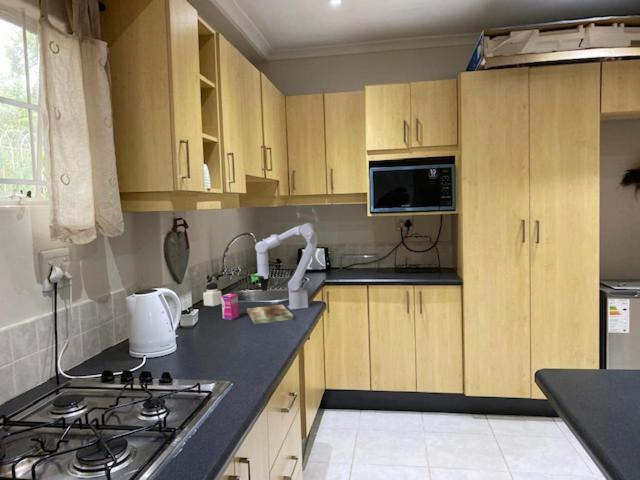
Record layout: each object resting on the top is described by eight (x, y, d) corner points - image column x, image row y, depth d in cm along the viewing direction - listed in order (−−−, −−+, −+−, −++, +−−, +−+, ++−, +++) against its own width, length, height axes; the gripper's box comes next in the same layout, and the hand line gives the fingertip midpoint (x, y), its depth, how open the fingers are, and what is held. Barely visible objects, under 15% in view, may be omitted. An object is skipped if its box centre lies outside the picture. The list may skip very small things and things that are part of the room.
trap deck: (282, 308, 237) (282, 304, 237) (293, 319, 214) (293, 315, 214) (247, 312, 232) (247, 308, 232) (254, 324, 209) (254, 319, 209)
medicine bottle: (222, 303, 256) (220, 282, 255) (213, 306, 250) (211, 284, 249) (213, 302, 260) (211, 281, 258) (203, 305, 254) (202, 283, 252)
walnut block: (276, 313, 219) (276, 305, 219) (279, 316, 213) (279, 307, 213) (264, 314, 217) (263, 306, 217) (266, 317, 212) (266, 309, 211)
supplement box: (222, 319, 221) (220, 296, 220) (230, 316, 226) (228, 293, 225) (232, 320, 218) (230, 296, 217) (239, 317, 223) (238, 294, 222)
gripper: (252, 263, 243) (254, 288, 244) (257, 267, 229) (259, 294, 230) (266, 262, 245) (267, 287, 246) (271, 265, 231) (273, 292, 232)
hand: (264, 290), depth 238 cm, fingers closed
